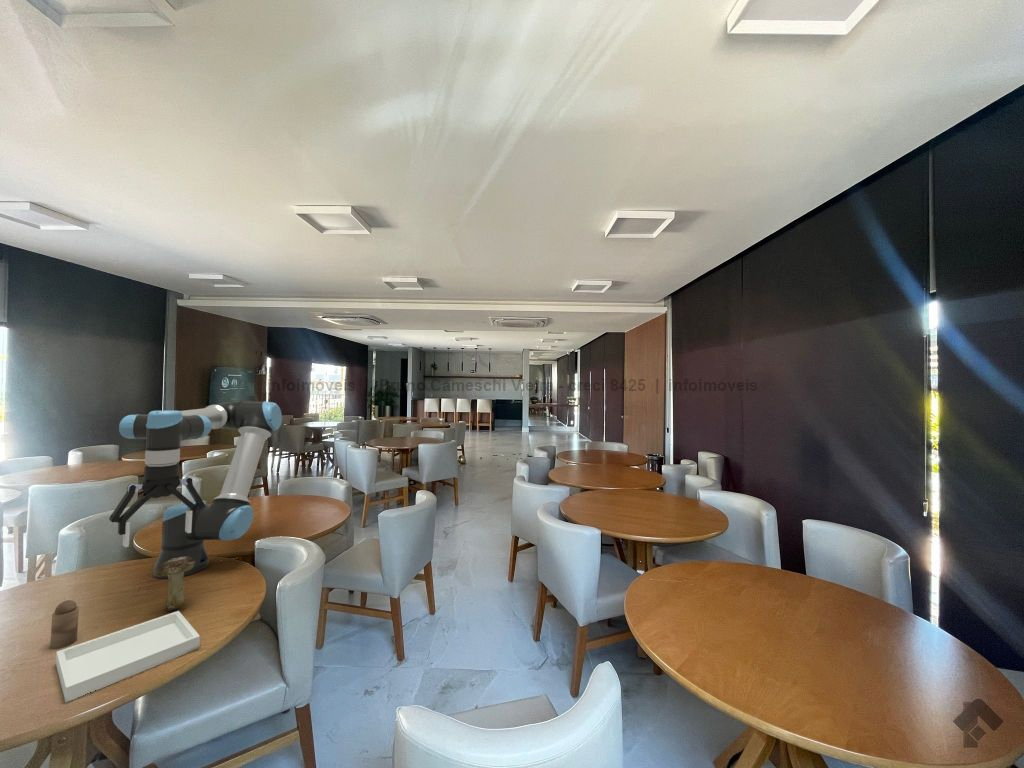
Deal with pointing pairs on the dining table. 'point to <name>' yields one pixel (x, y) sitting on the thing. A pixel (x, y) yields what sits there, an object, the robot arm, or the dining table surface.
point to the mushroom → (175, 579)
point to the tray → (123, 654)
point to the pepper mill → (64, 625)
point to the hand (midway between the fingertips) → (158, 538)
